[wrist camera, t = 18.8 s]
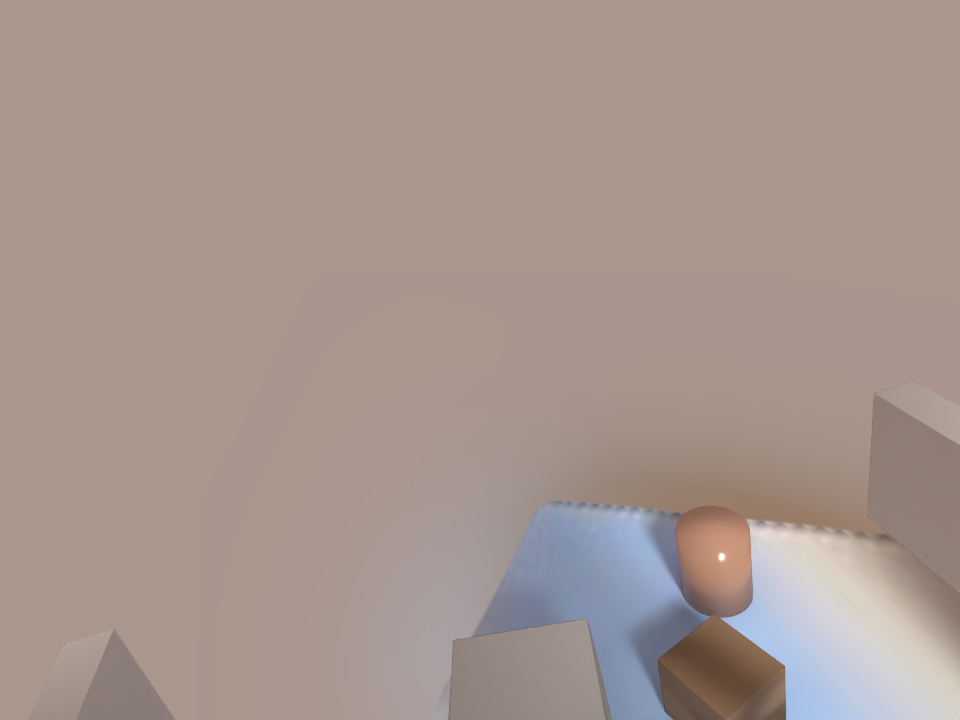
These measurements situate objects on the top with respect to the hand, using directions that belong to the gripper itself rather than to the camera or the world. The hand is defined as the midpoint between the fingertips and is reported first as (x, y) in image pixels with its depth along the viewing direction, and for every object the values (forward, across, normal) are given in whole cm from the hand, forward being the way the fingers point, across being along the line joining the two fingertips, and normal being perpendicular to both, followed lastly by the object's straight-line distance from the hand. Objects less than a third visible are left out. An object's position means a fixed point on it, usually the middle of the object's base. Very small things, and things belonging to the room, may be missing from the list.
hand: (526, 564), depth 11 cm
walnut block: (+16, +11, -32) cm, 37 cm away
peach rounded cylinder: (+25, +15, -32) cm, 43 cm away
